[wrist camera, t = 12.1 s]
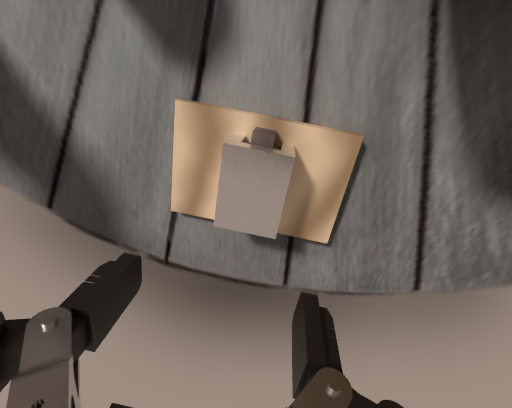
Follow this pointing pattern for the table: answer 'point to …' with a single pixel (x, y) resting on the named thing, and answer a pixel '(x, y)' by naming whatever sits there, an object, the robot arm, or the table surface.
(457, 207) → the table surface
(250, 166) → the notched grey block
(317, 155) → the stand
